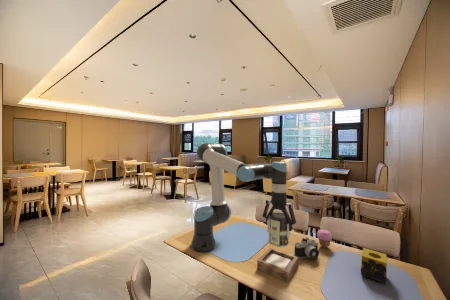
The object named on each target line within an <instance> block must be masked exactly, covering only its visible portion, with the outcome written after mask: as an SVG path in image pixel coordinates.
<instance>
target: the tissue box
mask: <svg viewBox="0 0 450 300" xmlns="http://www.w3.org/2000/svg"><path fill="white" fill-rule="evenodd" d="M361 253H362V254H361V266H360V275H361V276H364V277H366V278H368V279H371V280H373V281H377V282H381V283H383V284H387V275H388V274H387V267H388V259H387V253H383V252H379V251H375V250H372V249H369V248H365V247H363V248H362V252H361Z"/></svg>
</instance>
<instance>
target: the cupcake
mask: <svg viewBox="0 0 450 300" xmlns="http://www.w3.org/2000/svg"><path fill="white" fill-rule="evenodd" d="M316 237H317V239H318V244H319V245H320V246H321V247H322V248H328V247H330V246H331V241H332V240H333V235H332V234H331V232H330V231H329V230H327V229H319V230H318V231H317V232H316Z"/></svg>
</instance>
